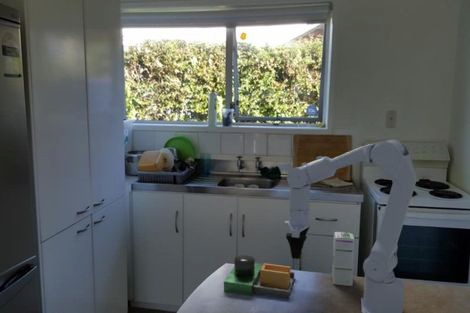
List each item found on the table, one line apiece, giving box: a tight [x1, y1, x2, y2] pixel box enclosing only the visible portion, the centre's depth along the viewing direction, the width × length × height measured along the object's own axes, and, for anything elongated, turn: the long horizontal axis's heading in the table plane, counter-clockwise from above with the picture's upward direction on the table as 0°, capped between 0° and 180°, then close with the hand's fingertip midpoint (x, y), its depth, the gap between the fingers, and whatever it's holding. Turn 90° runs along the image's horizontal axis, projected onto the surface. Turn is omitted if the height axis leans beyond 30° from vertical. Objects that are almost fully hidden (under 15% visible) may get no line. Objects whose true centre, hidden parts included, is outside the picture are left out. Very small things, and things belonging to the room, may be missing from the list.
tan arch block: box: [260, 262, 291, 289], centre depth 111 cm, size 8×5×4 cm, turn 74°
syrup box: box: [331, 231, 355, 287], centre depth 114 cm, size 6×6×14 cm
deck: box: [223, 255, 295, 300], centre depth 112 cm, size 18×15×7 cm
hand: (297, 253), depth 111 cm, fingers open, 7 cm apart
